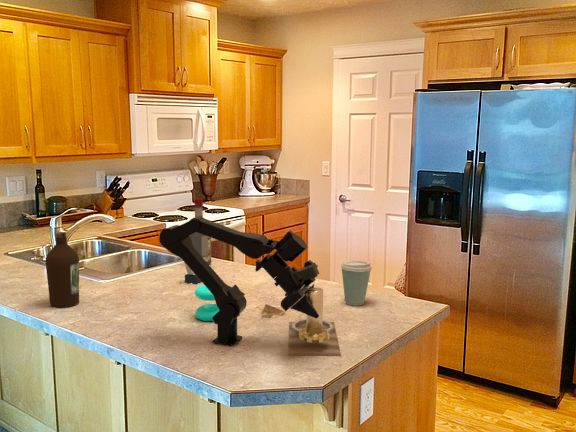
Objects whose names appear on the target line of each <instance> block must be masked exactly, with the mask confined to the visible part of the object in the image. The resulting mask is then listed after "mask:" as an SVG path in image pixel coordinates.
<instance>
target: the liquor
mask: <svg viewBox="0 0 576 432" xmlns="http://www.w3.org/2000/svg"><path fill="white" fill-rule="evenodd" d="M193 202H194V218H195V217H198V216H201V217H203V218H204V213H203V212H204V208H203V207H204V201H203V198H200V197H199V198H194V201H193ZM189 236H190V238H191V241H192V244H193V247H194V248H195V250H196V251H197V252H198V253H199V254H200V255H201V256H202V258H203V259H204V260H205V261H206V262H207V263H208V264H209V265H210V266H211V264H212V238H211V237H208V236H206V235H203V234H200V233H198V232H195V233H193V234H191V235H189Z"/></svg>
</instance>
